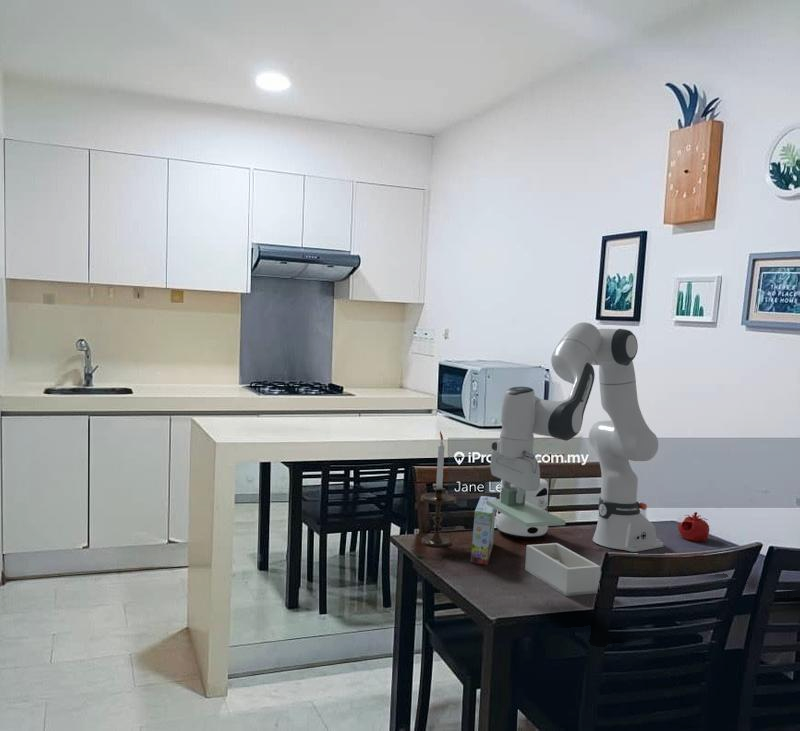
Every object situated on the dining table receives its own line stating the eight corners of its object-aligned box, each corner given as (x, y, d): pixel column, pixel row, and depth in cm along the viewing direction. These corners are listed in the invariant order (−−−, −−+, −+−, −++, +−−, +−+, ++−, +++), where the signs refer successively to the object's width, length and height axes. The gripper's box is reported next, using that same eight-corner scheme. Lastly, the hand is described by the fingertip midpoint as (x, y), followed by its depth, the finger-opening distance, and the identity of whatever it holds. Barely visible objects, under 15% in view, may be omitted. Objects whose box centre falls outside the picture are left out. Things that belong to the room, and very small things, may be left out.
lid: (521, 504, 191) (522, 484, 191) (565, 527, 172) (566, 505, 171) (485, 506, 188) (487, 485, 187) (526, 529, 168) (527, 506, 168)
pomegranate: (703, 536, 240) (705, 509, 240) (713, 544, 230) (715, 516, 230) (673, 533, 241) (676, 506, 241) (682, 541, 231) (684, 513, 231)
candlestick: (411, 542, 215) (417, 430, 213) (430, 535, 224) (436, 427, 222) (442, 550, 209) (448, 434, 207) (460, 542, 218) (466, 431, 216)
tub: (555, 567, 199) (557, 543, 199) (598, 593, 180) (600, 566, 180) (525, 569, 195) (526, 545, 195) (565, 596, 177) (567, 569, 176)
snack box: (489, 565, 198) (492, 513, 197) (469, 563, 199) (472, 511, 198) (494, 543, 218) (497, 496, 218) (476, 541, 220) (479, 494, 219)
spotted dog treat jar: (559, 539, 227) (562, 484, 226) (516, 544, 219) (519, 487, 218) (525, 524, 242) (528, 473, 241) (484, 529, 234) (487, 476, 233)
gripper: (548, 455, 176) (544, 509, 177) (507, 441, 195) (504, 490, 196) (526, 455, 174) (522, 510, 174) (487, 442, 193) (484, 491, 193)
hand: (512, 500), depth 185 cm, fingers closed on lid, 4 cm apart
